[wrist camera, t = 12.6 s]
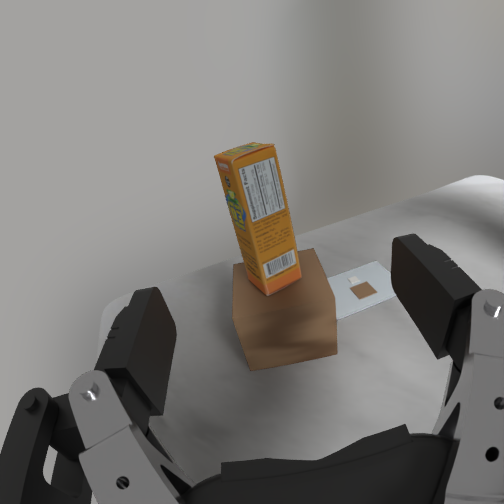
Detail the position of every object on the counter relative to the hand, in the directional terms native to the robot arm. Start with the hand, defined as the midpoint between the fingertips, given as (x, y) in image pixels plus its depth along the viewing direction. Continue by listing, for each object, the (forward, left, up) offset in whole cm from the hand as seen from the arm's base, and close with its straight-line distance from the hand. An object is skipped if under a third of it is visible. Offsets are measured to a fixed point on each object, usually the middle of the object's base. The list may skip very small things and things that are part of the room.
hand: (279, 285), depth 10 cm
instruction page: (-8, -15, -13) cm, 21 cm away
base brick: (0, -11, -13) cm, 17 cm away
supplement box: (0, -11, -7) cm, 13 cm away
